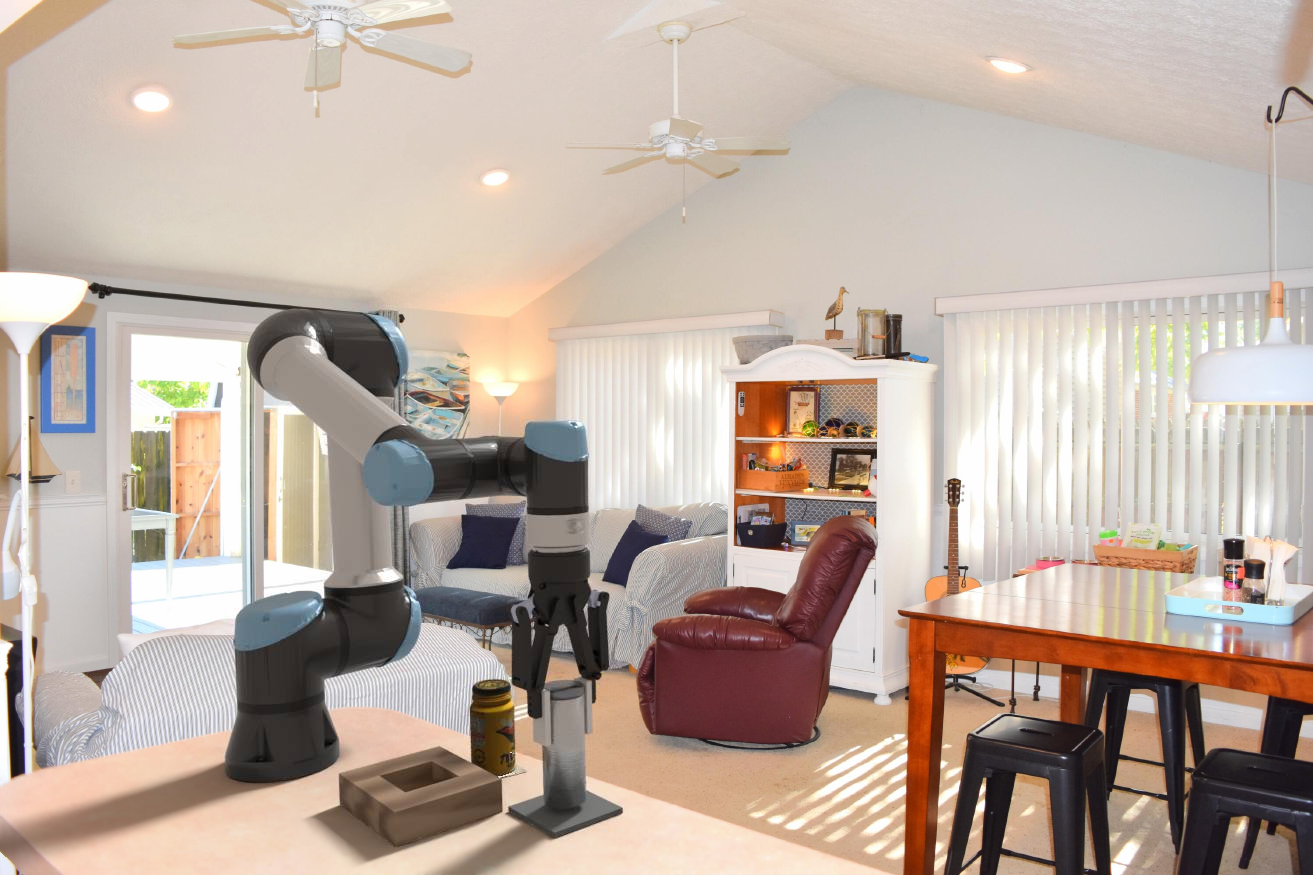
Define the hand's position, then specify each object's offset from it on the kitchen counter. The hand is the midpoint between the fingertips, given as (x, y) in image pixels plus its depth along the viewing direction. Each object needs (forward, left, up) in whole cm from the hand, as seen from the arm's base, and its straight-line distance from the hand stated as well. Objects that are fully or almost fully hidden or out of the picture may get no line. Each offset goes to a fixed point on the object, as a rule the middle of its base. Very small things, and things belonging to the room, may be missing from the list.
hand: (563, 736), depth 116 cm
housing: (-13, -12, -9) cm, 21 cm away
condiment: (-18, 0, -10) cm, 21 cm away
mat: (0, 0, -9) cm, 9 cm away
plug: (0, 0, -8) cm, 8 cm away
